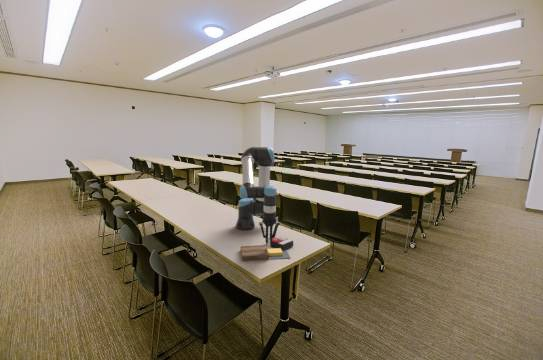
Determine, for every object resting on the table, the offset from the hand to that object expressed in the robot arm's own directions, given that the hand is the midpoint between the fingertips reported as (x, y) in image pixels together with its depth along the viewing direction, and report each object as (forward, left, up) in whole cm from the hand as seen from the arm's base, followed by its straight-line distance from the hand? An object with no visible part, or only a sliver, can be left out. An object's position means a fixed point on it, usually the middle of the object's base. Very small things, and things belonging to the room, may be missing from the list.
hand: (268, 247), depth 160 cm
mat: (0, +6, -4) cm, 7 cm away
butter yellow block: (0, +4, -4) cm, 6 cm away
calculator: (-12, +10, -4) cm, 16 cm away
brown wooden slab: (0, -9, -4) cm, 10 cm away
